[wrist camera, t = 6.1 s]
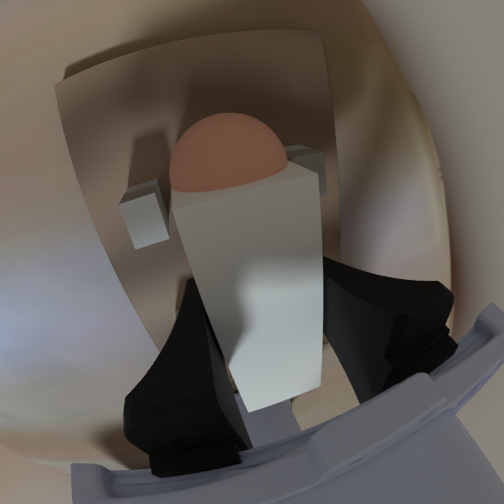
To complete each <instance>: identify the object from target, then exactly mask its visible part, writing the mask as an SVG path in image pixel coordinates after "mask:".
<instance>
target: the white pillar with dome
mask: <svg viewBox="0 0 504 504" xmlns="http://www.w3.org/2000/svg"><path fill="white" fill-rule="evenodd" d="M169 176H170V183H171V195H172V212H173V215H174V218H175V222H176V225H177V228H178V231H179V234H180V237H181V240H182V244H183V247H184V250H185V253H186V256H187V259H188V262H189V265H190V267H191V270H192V273H193V276H194V279H195V282H196V285H197V287H198V290H199V293H200V296H201V298H202V301H203V304H204V307H205V309H206V312H207V315H208V317H209V320H210V322H211V325H212V328H213V330H214V333H215V335H216V338H217V340H218V343H219V345H220V348H221V350H222V353H223V355H224V358H225V360H226V362H227V365H228V367H229V370H230V372H231V374H232V377H233V379H234V381H235V384H236V386H237V388H238V390H239V393H240V395H241V397H242V399H243V402H244V404H245V406H246V408H247V410H248V413H249V412H252V411H255V410H258V409H261V408H264V407H267V406H270V405H273V404H276V403H279V402H282V401H284V400H287V399H290V398H292V397H295V396H297V395H300V394H302V393H305V392H307V391H310V390H312V389H315V388H317V387H319V386H320V383H321V365H322V340H323V254H322V228H321V209H320V194H319V181H318V174H317V173H315V172H313V171H311V170H309V169H307V168H304V167H302V166H300V165H298V164H295V163H293V162H291V161H288V160H287V156H286V153H285V150H284V147H283V145H282V143H281V141H280V140H279V138H278V137H277V135H276V134H275V133H274V132H273V131H272V130H271V129H270V128H269V127H268V126H267V125H265V124H264V123H263V122H261V121H259V120H258V119H256V118H253V117H251V116H248V115H244V114H240V113H219V114H215V115H211V116H208V117H206V118H204V119H202V120H200V121H198V122H197V123H195V124H194V125H192V126H191V127H190V128H189V129H188V130H187V131H186V132H185V133H184V134H183V135H182V136H181V138H180V139H179V141H178V142H177V144H176V146H175V148H174V150H173V153H172V156H171V160H170V168H169Z"/></svg>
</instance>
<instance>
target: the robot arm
mask: <svg viewBox="0 0 504 504" xmlns="http://www.w3.org/2000/svg"><path fill="white" fill-rule="evenodd" d="M453 302H454V296H453V293H452V292H451V291H450V290H449V289H448V288H446V287H445V286H444V285H443V284H442V283H440V282H439V281H415V280H405V279H397V278H391V277H386V276H381V275H377V274H373V273H369V272H365V271H362V270H359V269H356V268H353V267H350V266H347V265H345V264H342V263H339V262H337V261H335V260H332V259H330V258H328V257H325V256H323V333H324V335H325V336H326V338H327V339H328V341H329V343H330V344H331V346H332V348H333V350H334V352H335V353H336V355H337V357H338V359H339V361H340V363H341V365H342V367H343V369H344V371H345V372H346V375H347V377H348V379H349V381H350V383H351V385H352V387H353V389H354V392H355V394H356V396H357V398H358V401H359V403H360V405H359V406H357V407H355V408H353V409H351V410H349V411H347V412H345V413H343V414H341V415H338V416H336V417H334V418H332V419H330V420H328V421H325V422H323V423H321V424H319V425H316V426H314V427H311V428H309V429H307V430H304V431H301V429H300V427H299V425H298V422H297V420H296V418H295V416H294V414H293V412H292V409H291V401H290V399H287V400H284V401H282V402H279V403H276V404H273V405H270V406H267V407H264V408H261V409H258V410H255V411H252V412H249V413H248V410H247V408H246V406H245V404H244V402H243V399H242V397H241V395H240V393H236V394H234V393H233V390H232V387H231V384H230V380H229V377H228V373H227V369H226V365H225V360H224V355H223V353H222V350H221V348H220V345H219V343H218V340H217V338H216V335H215V333H214V330H213V328H212V325H211V322H210V320H209V317H208V315H207V312H206V309H205V307H204V304H203V301H202V298H201V296H200V293H199V290H198V287H197V285H196V282H195V279H194V277H193V278H190V279H188V280H187V281H186V286H185V291H184V295H183V299H182V302H181V306H180V309H179V312H178V315H177V318H176V320H175V323H174V326H173V328H172V330H171V333H170V335H169V337H168V339H167V341H166V343H165V345H164V347H163V348H162V350H161V352H160V354H159V356H158V357H157V359H156V360H155V362H154V363H153V365H152V366H151V368H150V369H149V370H148V372H147V373H146V374H145V376H144V377H143V378H142V380H141V381H140V382H139V383H138V384H137V385H136V386H135V388H134V389H133V390H132V391H131V392H130V393H129V394H128V395H127V396H126V397H125V404H124V414H123V416H124V435H125V437H126V439H127V440H128V441H129V442H130V443H132V444H133V445H134V446H136V447H137V448H139V449H141V450H142V451H144V452H145V453H147V454H148V455H149V460H150V467H151V468H149V469H137V470H116V471H110V470H109V469H107V468H105V467H104V466H101V465H97V464H82V463H72V464H71V483H72V500H73V504H504V484H503V482H502V480H501V479H500V477H499V476H498V474H497V473H496V471H495V470H494V468H493V467H492V465H491V464H490V462H489V461H488V459H487V458H486V456H485V455H484V453H483V452H482V451H481V449H480V448H479V446H478V445H477V444H476V442H475V441H474V439H473V438H472V437H471V435H470V434H469V432H468V431H467V430H466V428H465V427H464V426H463V425H462V423H461V422H460V420H459V419H458V418H457V416H456V415H455V413H457V411H459V410H460V409H461V408H462V407H463V406H464V405H465V404H466V403H467V402H468V401H469V400H470V399H471V398H472V397H473V396H474V395H475V394H476V393H477V392H478V391H479V390H480V389H481V388H482V387H483V385H484V384H485V383H486V382H487V381H488V380H489V379H490V377H492V376H493V374H494V373H495V372H496V371H497V370H498V369H499V367H500V366H501V365H502V364H503V362H504V312H503V311H502V310H501V309H500V308H499V307H497V306H496V305H495V304H494V303H493V302H492V303H490V304H489V305H488V306H487V307H486V308H485V309H484V310H483V311H482V312H481V313H480V314H479V316H478V317H477V319H476V321H475V323H474V326H473V327H472V328H471V329H470V330H469V331H468V332H467V333H466V334H464V335H463V336H462V337H461V338H460V339H458V340H457V341H456V342H455V341H454V340H453V339H452V338H451V337H450V336H449V335H448V334H449V332H450V329H449V328H448V327H447V326H446V325H445V324H446V322H447V319H448V317H449V314H450V312H451V309H452V306H453Z"/></svg>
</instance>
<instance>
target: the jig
mask: <svg viewBox="0 0 504 504" xmlns="http://www.w3.org/2000/svg"><path fill="white" fill-rule="evenodd" d="M54 87H55V92H56V98H57V103H58V108H59V113H60V117H61V122H62V126H63V130H64V134H65V138H66V142H67V145H68V149H69V153H70V156H71V160H72V163H73V166H74V169H75V173H76V176H77V179H78V182H79V185H80V188H81V191H82V193H83V196H84V199H85V202H86V204H87V207H88V210H89V212H90V215H91V218H92V220H93V223H94V225H95V228H96V230H97V232H98V235H99V237H100V239H101V242H102V244H103V246H104V249H105V251H106V253H107V255H108V257H109V260H110V262H111V264H112V266H113V268H114V270H115V272H116V274H117V276H118V278H119V280H120V282H121V284H122V286H123V288H124V290H125V292H126V294H127V296H128V298H129V300H130V302H131V304H132V305H133V307H134V309H135V311H136V313H137V314H138V316H139V318H140V320H141V322H142V323H143V325H144V327H145V328H146V330H147V332H148V334H149V335H150V337H151V339H152V340H153V342H154V343H155V345H156V347H157V348H158V350H159V351H160V352H161V350H162V348H163V347H164V345H165V343H166V341H167V339H168V337H169V335H170V333H171V330H172V328H173V326H174V323H175V320H176V318H177V315H178V312H179V309H180V306H181V302H182V299H183V295H184V291H185V286H186V281H187V280H188V279H190V278H193V277H194V276H193V273H192V270H191V267H190V265H189V262H188V259H187V256H186V253H185V250H184V247H183V244H182V240H181V237H180V234H179V231H178V228H177V225H176V222H175V218H174V215H173V212H172V195H171V183H170V176H169V168H170V160H171V156H172V153H173V150H174V148H175V146H176V144H177V142H178V141H179V139H180V138H181V136H182V135H183V134H184V133H185V132H186V131H187V130H188V129H189V128H190V127H191V126H192V125H194V124H195V123H197V122H198V121H200V120H202V119H204V118H206V117H208V116H211V115H215V114H219V113H240V114H244V115H248V116H251V117H253V118H256V119H258V120H259V121H261V122H263V123H264V124H265V125H267V126H268V127H269V128H270V129H271V130H272V131H273V132H274V133H275V134H276V135H277V137H278V138H279V140H280V141H281V143H282V145H283V147H284V150H285V153H286V156H287V160H288V161H291V162H293V163H295V164H298V165H300V166H302V167H304V168H307V169H309V170H311V171H313V172H315V173H317V174H318V181H319V194H320V209H321V228H322V254H323V256H325V257H328V258H330V259H332V260H335V261H337V262H339V263H340V200H339V177H338V161H337V147H336V136H335V125H334V116H333V107H332V99H331V92H330V84H329V78H328V71H327V65H326V59H325V53H324V48H323V43H322V37H321V33H320V30H307V29H263V30H247V31H235V32H226V33H218V34H211V35H204V36H198V37H192V38H187V39H182V40H177V41H173V42H169V43H164V44H160V45H156V46H153V47H149V48H145V49H142V50H139V51H135V52H132V53H129V54H126V55H123V56H120V57H117V58H114V59H111V60H109V61H106V62H103V63H101V64H98V65H96V66H93V67H91V68H88V69H86V70H84V71H81V72H79V73H77V74H75V75H73V76H71V77H68V78H66V79H64V80H62V81H60V82H58V83H56V84H54ZM327 342H329V341H328V339H327V338H326V336H325V335H324V333H323V340H322V345H323V344H325V343H327ZM224 360H225V358H224ZM225 365H226V369H227V373H228V377H229V378H231V377H232V374H231V372H230V370H229V367H228V365H227V362H226V360H225Z"/></svg>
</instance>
